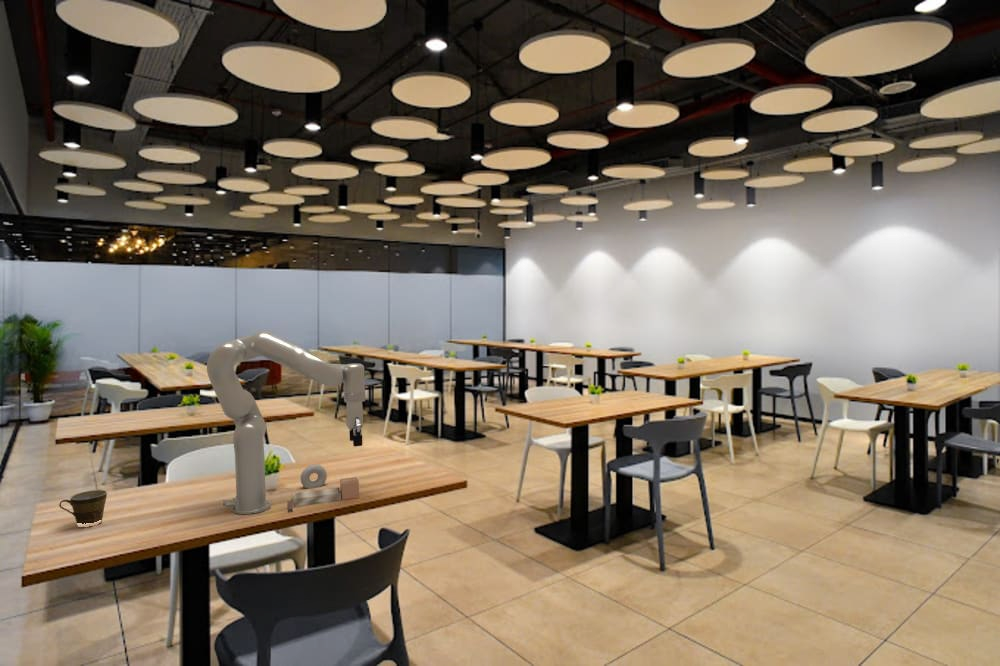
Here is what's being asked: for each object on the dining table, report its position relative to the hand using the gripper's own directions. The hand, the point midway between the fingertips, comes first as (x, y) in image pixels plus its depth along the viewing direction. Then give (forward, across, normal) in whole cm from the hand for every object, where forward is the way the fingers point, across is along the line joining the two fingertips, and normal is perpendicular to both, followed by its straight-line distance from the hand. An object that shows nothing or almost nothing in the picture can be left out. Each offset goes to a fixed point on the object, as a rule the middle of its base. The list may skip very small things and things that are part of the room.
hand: (356, 443), depth 215 cm
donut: (+21, -17, -14) cm, 31 cm away
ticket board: (+21, +1, -6) cm, 22 cm away
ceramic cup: (+20, -9, -87) cm, 90 cm away
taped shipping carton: (+19, +1, -3) cm, 20 cm away
